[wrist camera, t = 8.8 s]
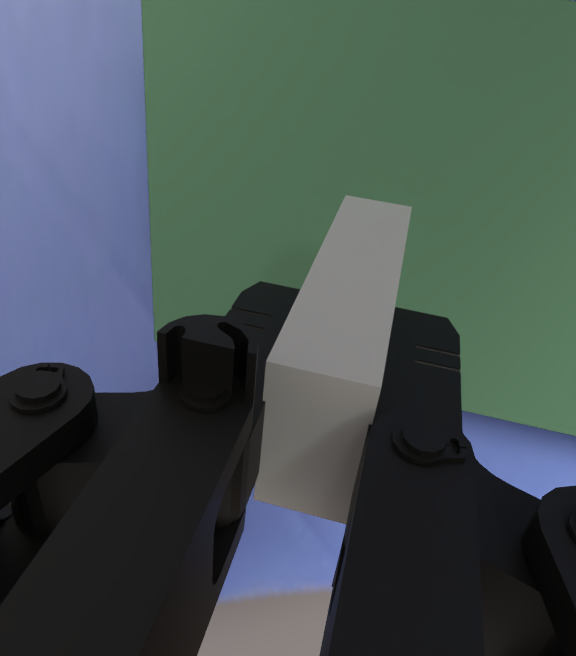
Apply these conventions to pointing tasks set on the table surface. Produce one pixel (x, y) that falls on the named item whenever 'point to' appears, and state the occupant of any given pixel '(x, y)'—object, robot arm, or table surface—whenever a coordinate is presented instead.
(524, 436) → the table surface
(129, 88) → the table surface
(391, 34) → the green
